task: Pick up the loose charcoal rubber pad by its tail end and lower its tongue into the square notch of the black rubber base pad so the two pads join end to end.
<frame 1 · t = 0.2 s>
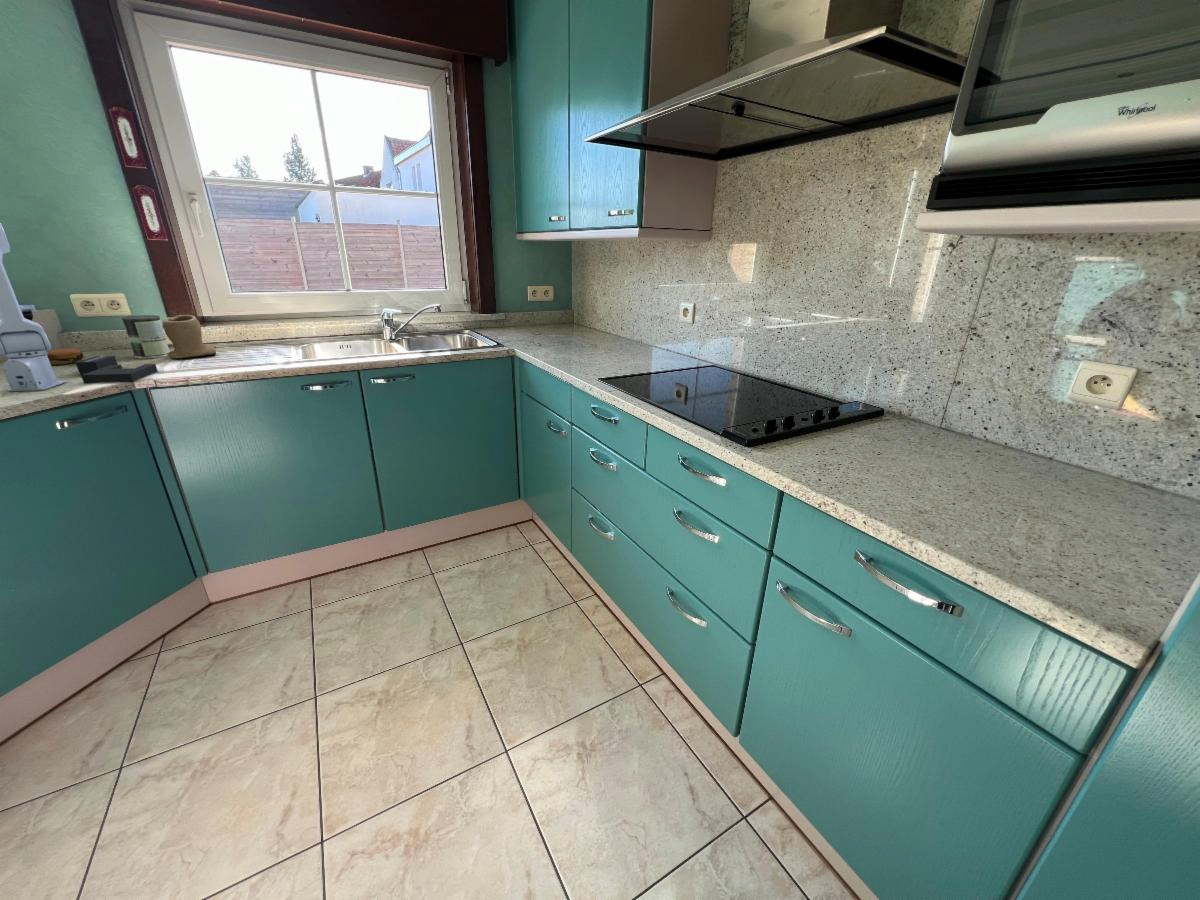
hand: (11, 336, 153), 10 cm above the worktop, tool pointing down, fingers open, 7 cm apart
burger: (65, 363, 168), on the worktop
tan suede boot: (195, 357, 181), on the worktop
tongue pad: (100, 371, 158), on the worktop
notch pad: (122, 377, 152), on the worktop
coffee can: (153, 356, 181), on the worktop
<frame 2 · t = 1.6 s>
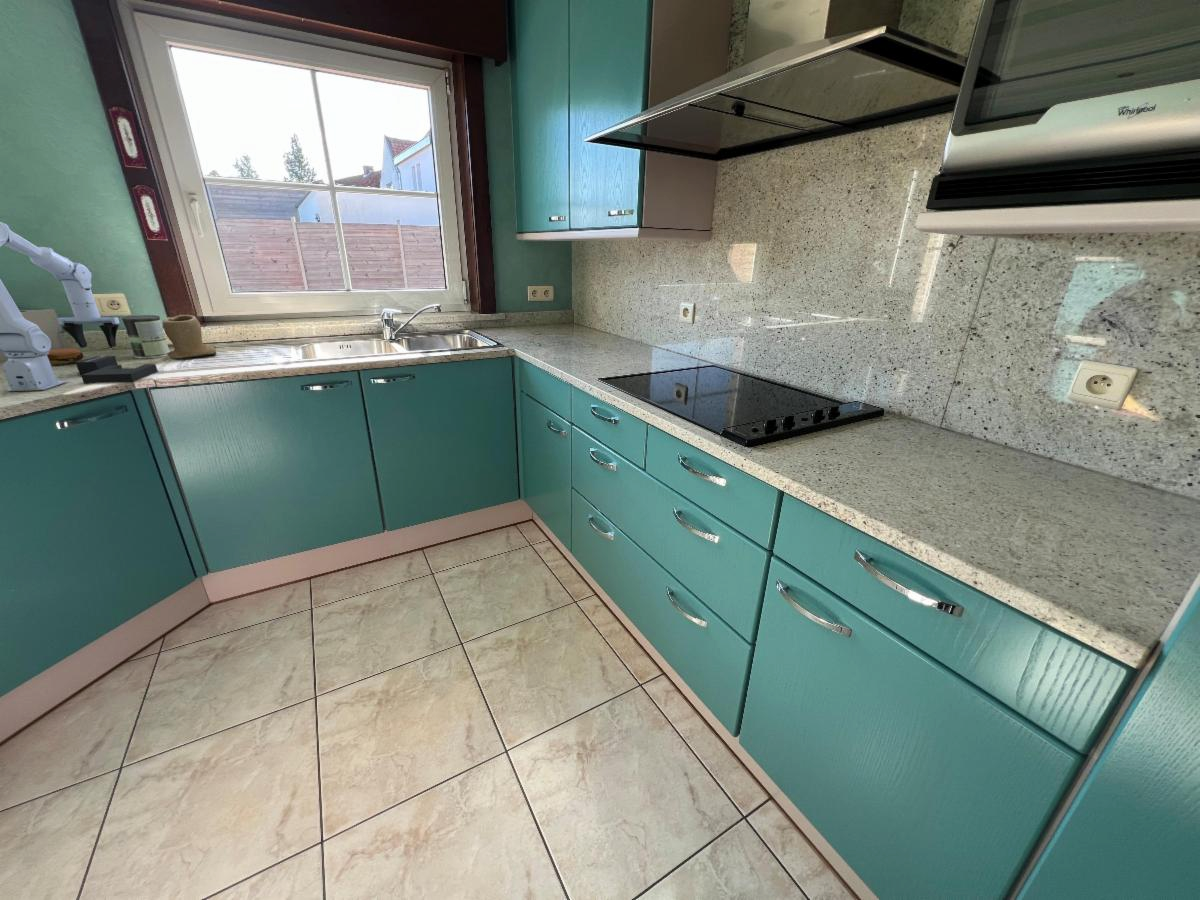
hand: (98, 346, 158), 7 cm above the worktop, tool pointing down, fingers open, 7 cm apart
nothing on the worktop moved.
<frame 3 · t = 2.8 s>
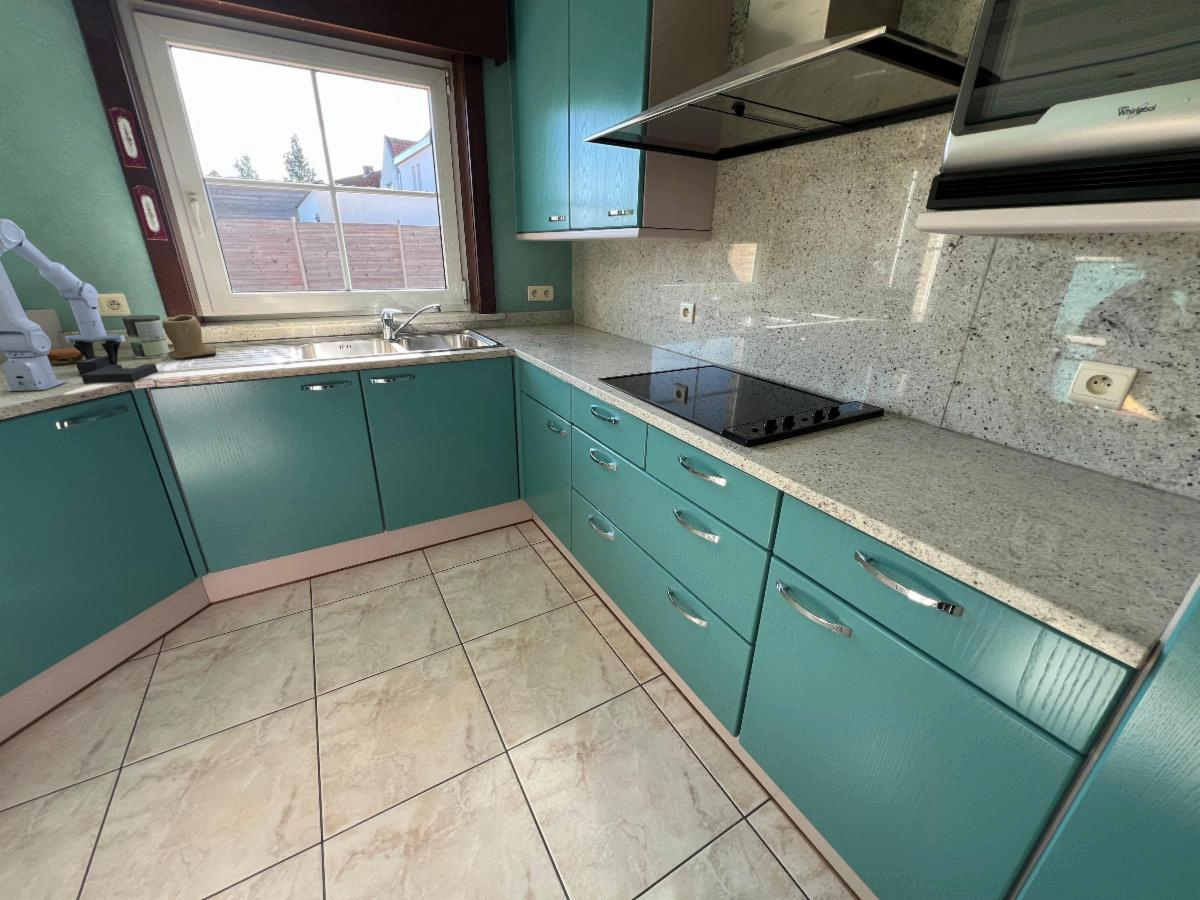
hand: (104, 364, 160), 2 cm above the worktop, tool pointing down, fingers closed on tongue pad, 5 cm apart
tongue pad: (99, 371, 158), on the worktop, touching gripper
everything else where it was.
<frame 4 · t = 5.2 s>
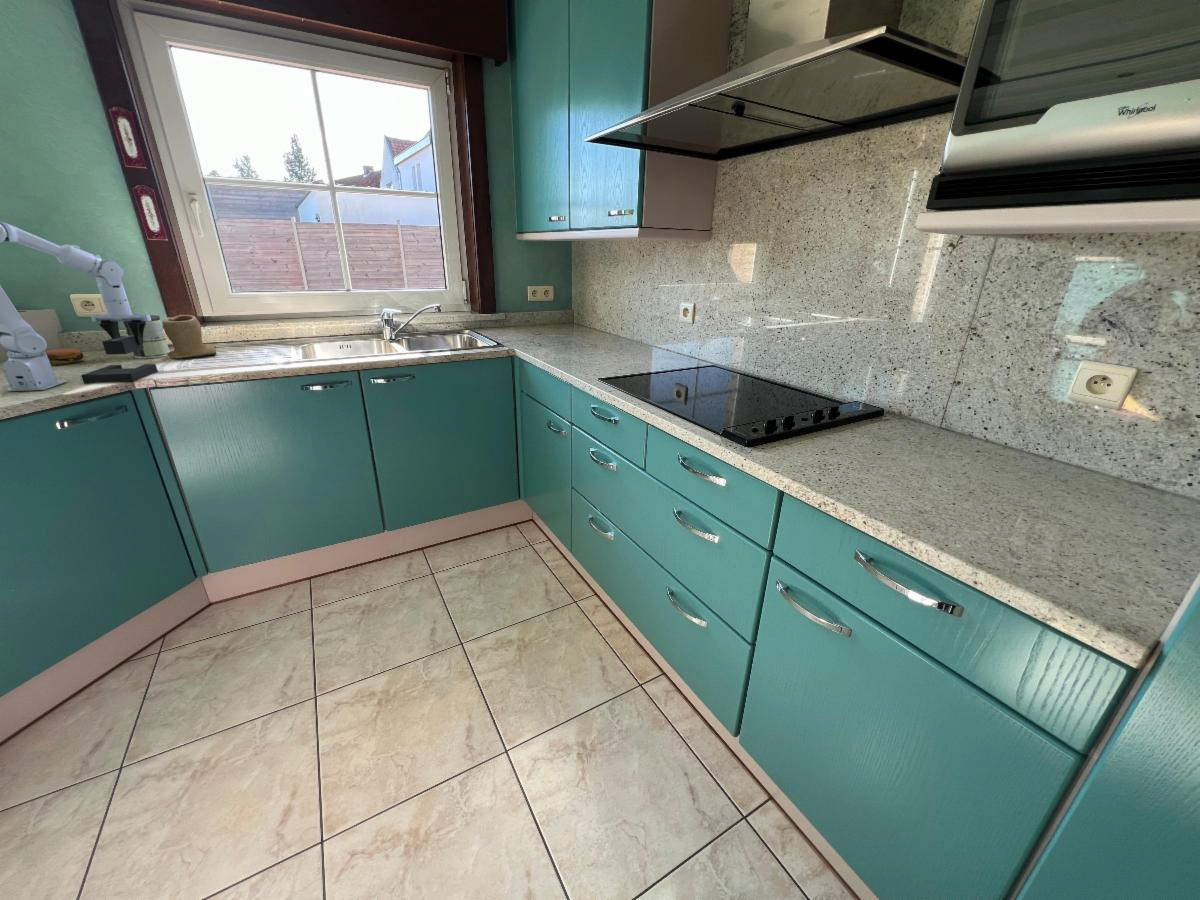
hand: (130, 344, 157), 8 cm above the worktop, tool pointing down, fingers closed on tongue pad, 5 cm apart
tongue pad: (125, 351, 155), point 7 cm above the worktop, touching gripper
everything else where it was.
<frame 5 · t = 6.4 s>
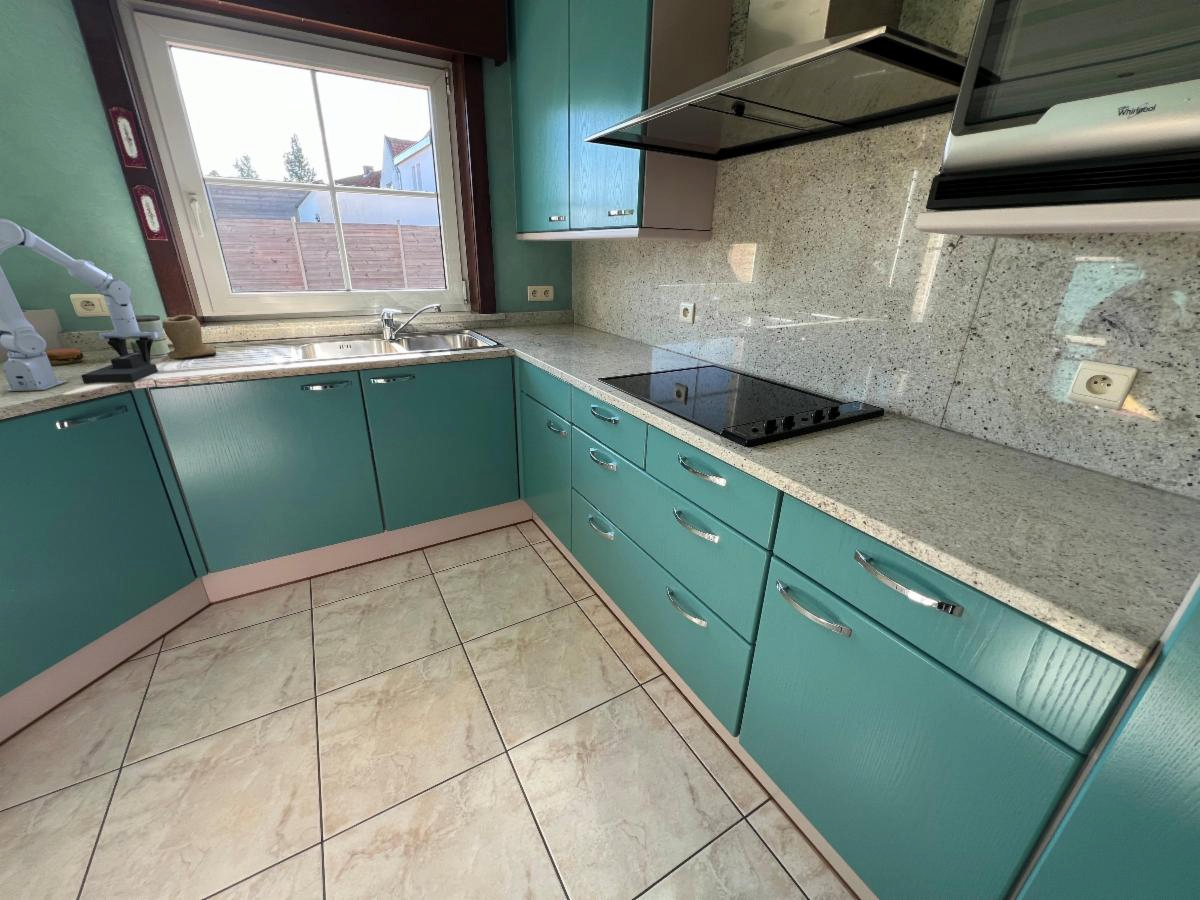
hand: (137, 361, 160), 3 cm above the worktop, tool pointing down, fingers closed on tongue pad, 5 cm apart
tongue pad: (133, 368, 157), point 1 cm above the worktop, touching gripper
everything else where it was.
when the fingers open (2 cm above the worktop, at t = 7.4 s): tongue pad stays where it is, on the worktop.
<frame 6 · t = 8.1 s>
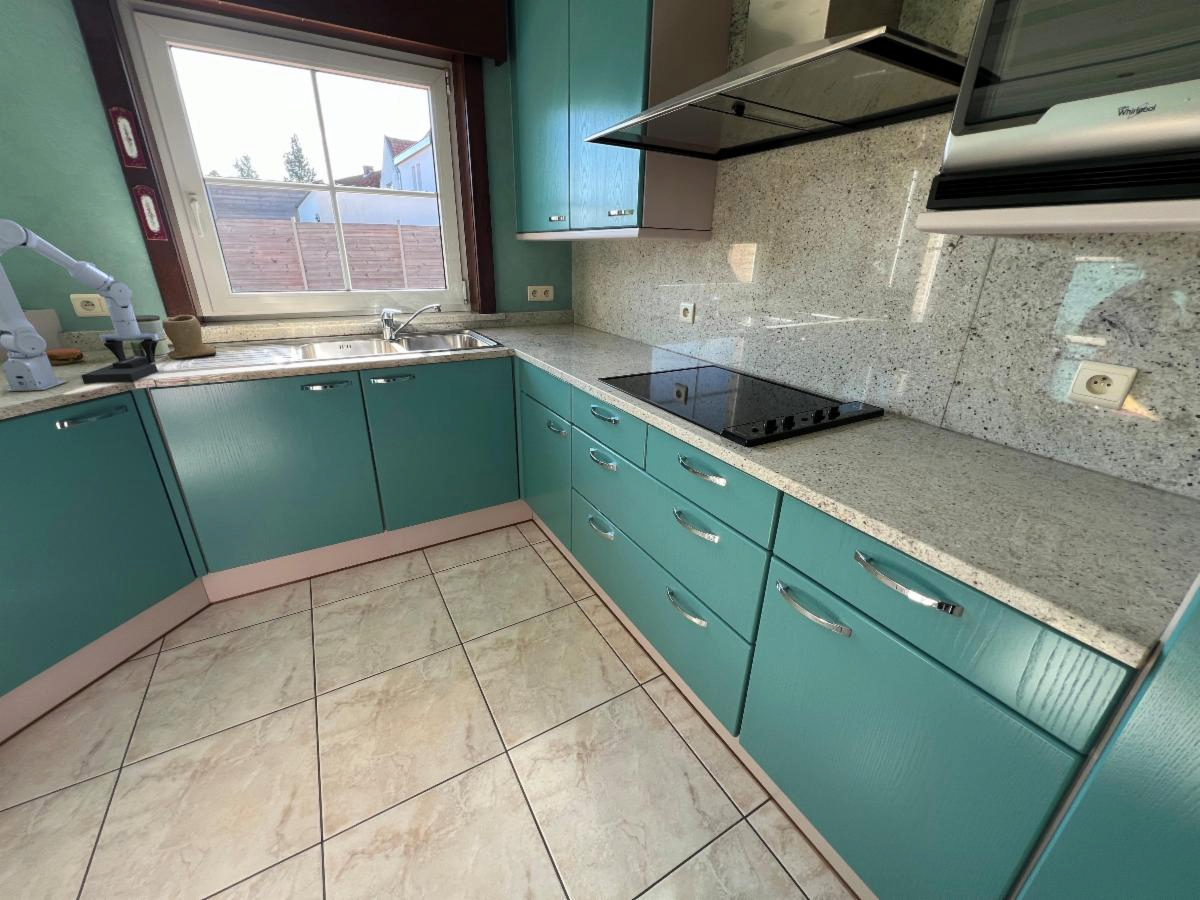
hand: (138, 363, 160), 2 cm above the worktop, tool pointing down, fingers open, 7 cm apart
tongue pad: (135, 372, 158), on the worktop
everything else where it was.
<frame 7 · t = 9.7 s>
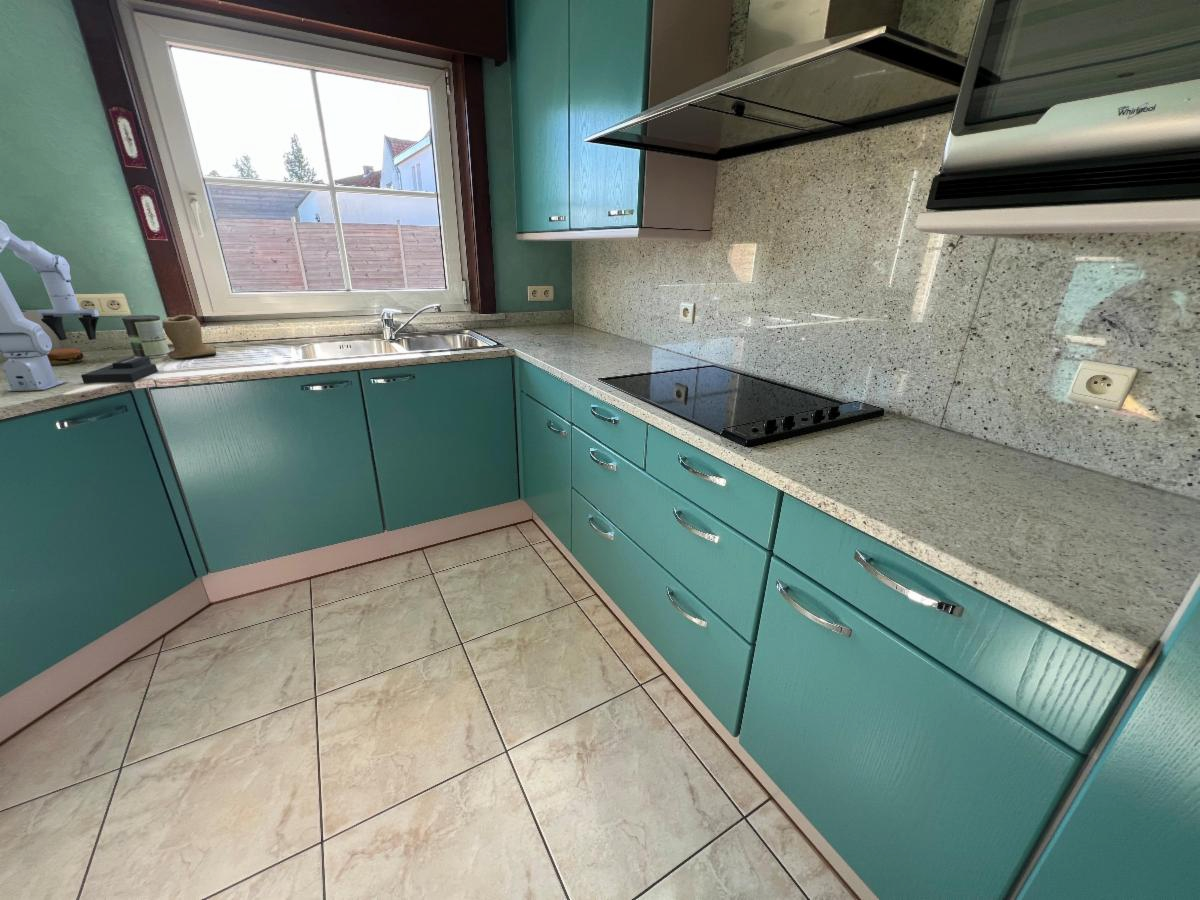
hand: (78, 339, 157), 9 cm above the worktop, tool pointing down, fingers open, 7 cm apart
nothing on the worktop moved.
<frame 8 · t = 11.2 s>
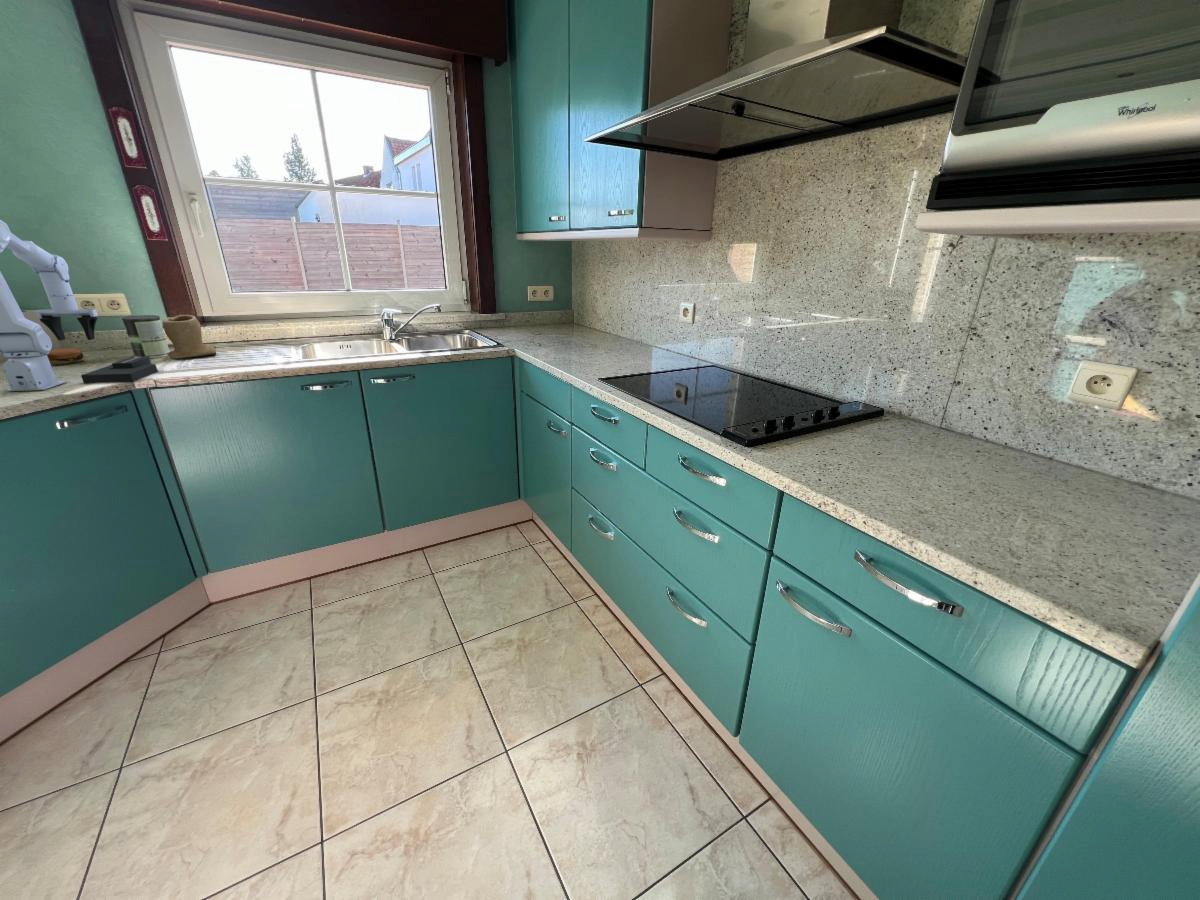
hand: (76, 339, 157), 9 cm above the worktop, tool pointing down, fingers open, 7 cm apart
nothing on the worktop moved.
at the end: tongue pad 0.2 cm from the target spot, on the worktop; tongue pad tilted 0°; the gripper is holding nothing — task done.
